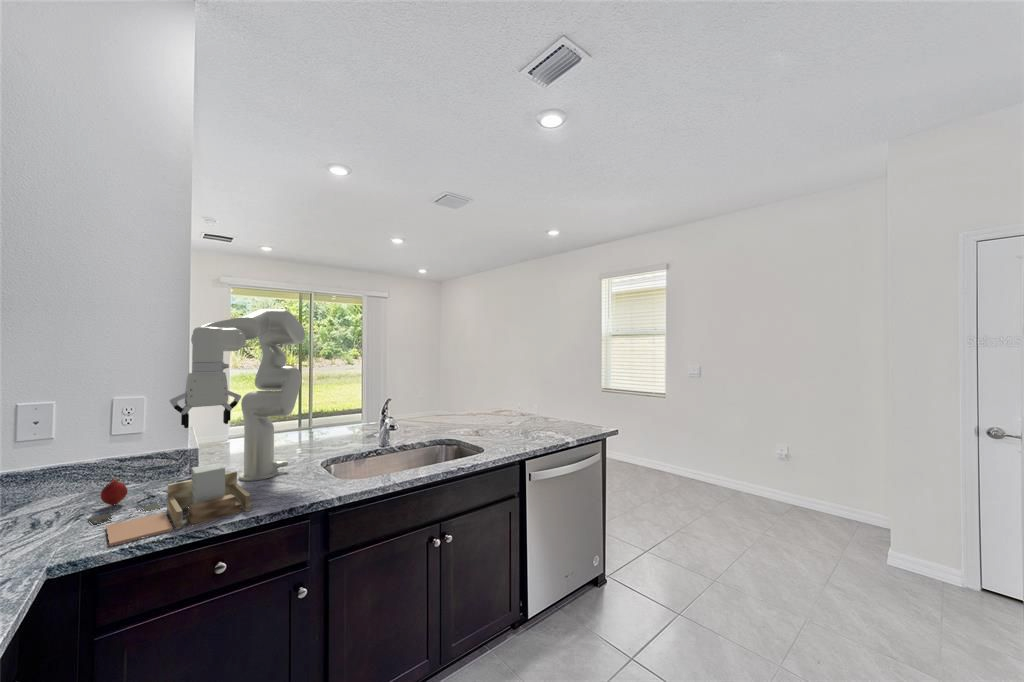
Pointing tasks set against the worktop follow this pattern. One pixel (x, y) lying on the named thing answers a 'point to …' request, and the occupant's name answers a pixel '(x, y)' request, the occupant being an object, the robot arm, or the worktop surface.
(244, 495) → the light wood blocky piece
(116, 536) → the terracotta tile
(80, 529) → the worktop surface
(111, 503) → the onion
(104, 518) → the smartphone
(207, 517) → the brown wooden rectangular block
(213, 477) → the supplement box
